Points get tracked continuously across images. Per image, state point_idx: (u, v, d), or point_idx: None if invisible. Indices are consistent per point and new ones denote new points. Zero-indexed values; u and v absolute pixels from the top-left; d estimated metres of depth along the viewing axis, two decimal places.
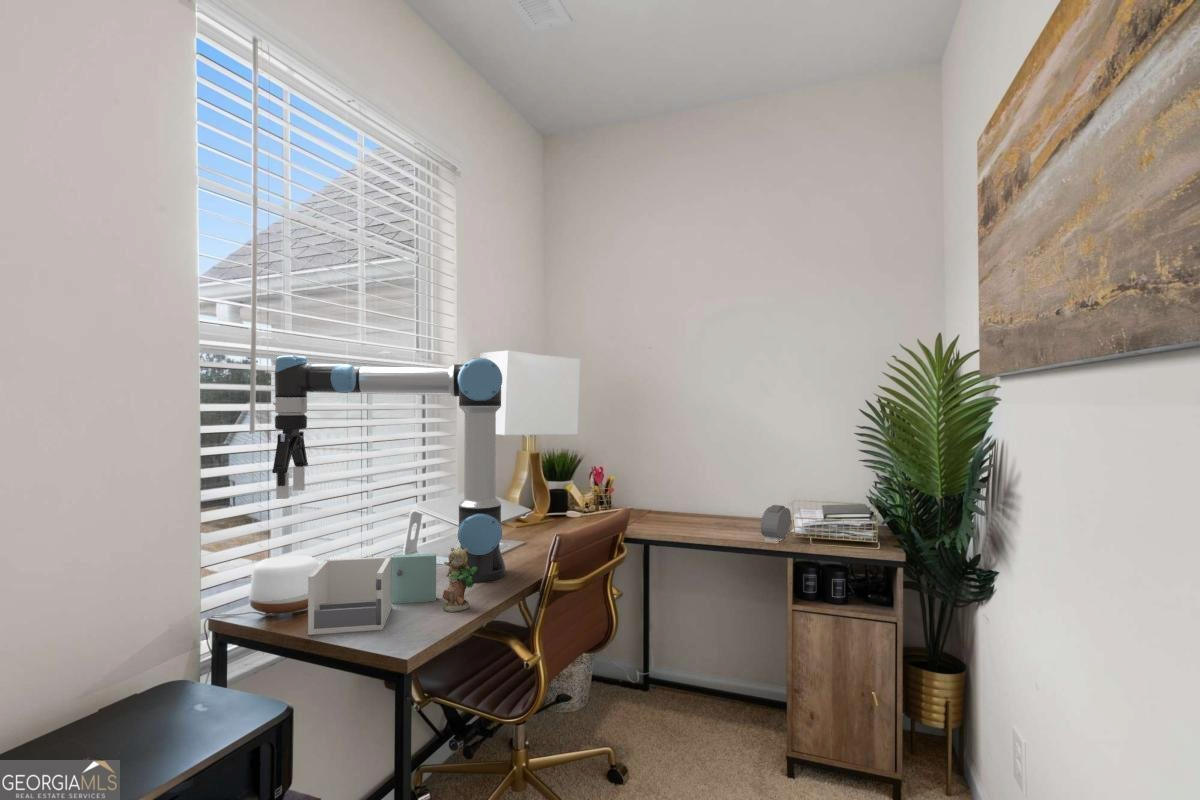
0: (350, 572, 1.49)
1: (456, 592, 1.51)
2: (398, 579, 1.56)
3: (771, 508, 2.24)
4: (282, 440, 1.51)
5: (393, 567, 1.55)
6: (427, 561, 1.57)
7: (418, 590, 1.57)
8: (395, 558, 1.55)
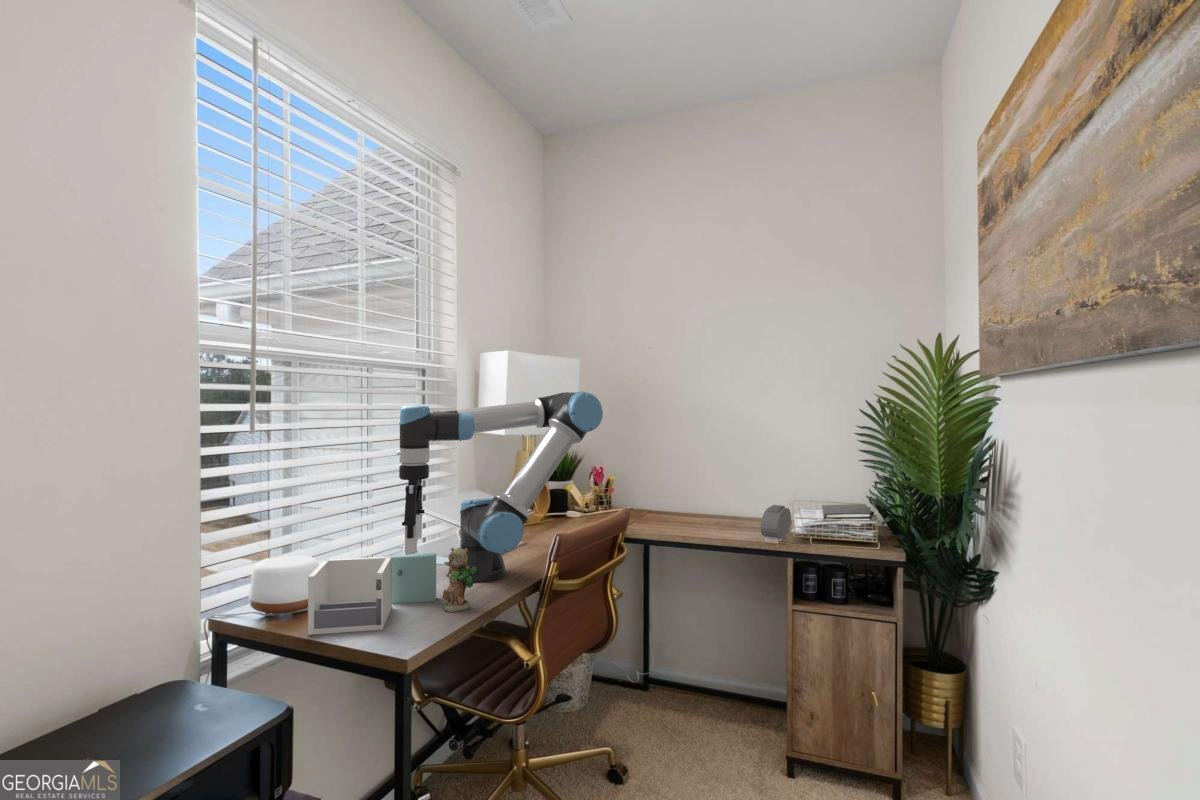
0: (350, 572, 1.49)
1: (456, 592, 1.51)
2: (398, 579, 1.56)
3: (771, 508, 2.24)
4: (410, 492, 1.51)
5: (393, 567, 1.55)
6: (427, 561, 1.57)
7: (418, 590, 1.57)
8: (395, 558, 1.55)
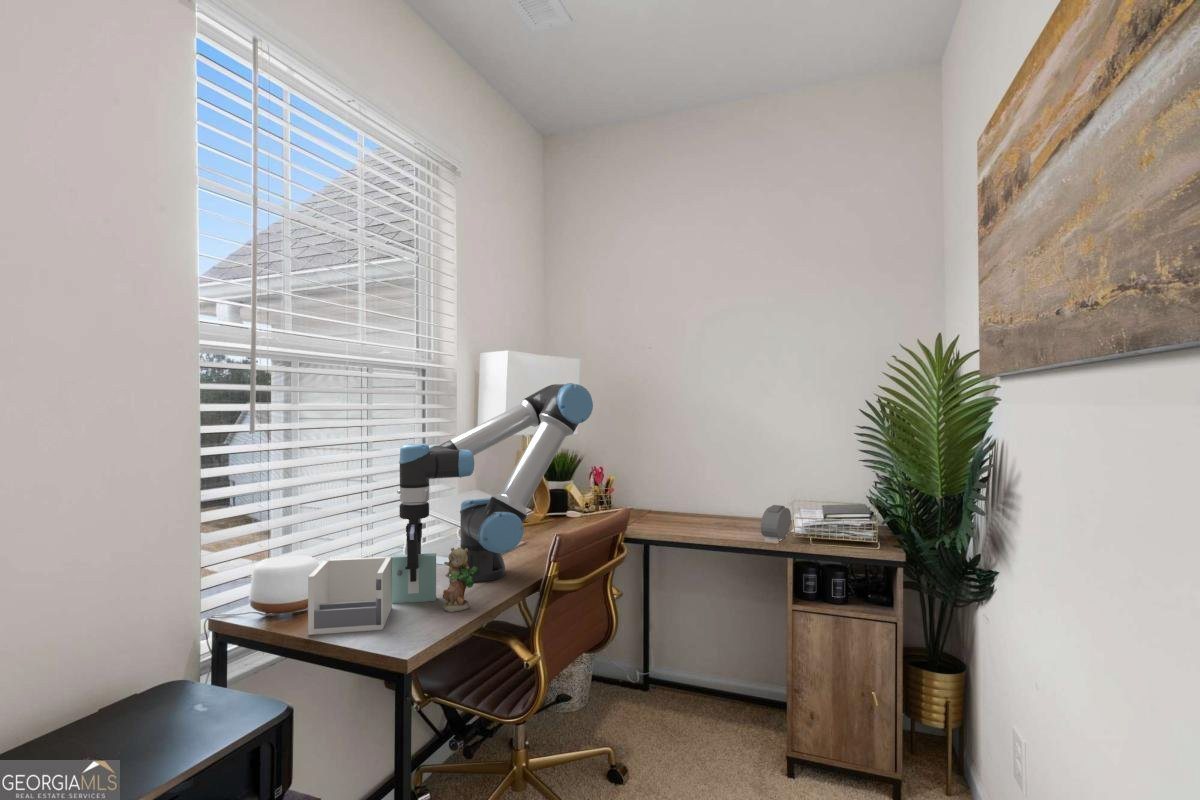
0: (350, 572, 1.49)
1: (456, 592, 1.51)
2: (398, 579, 1.56)
3: (771, 508, 2.24)
4: (411, 539, 1.52)
5: (393, 567, 1.55)
6: (427, 561, 1.57)
7: None
8: (395, 558, 1.55)
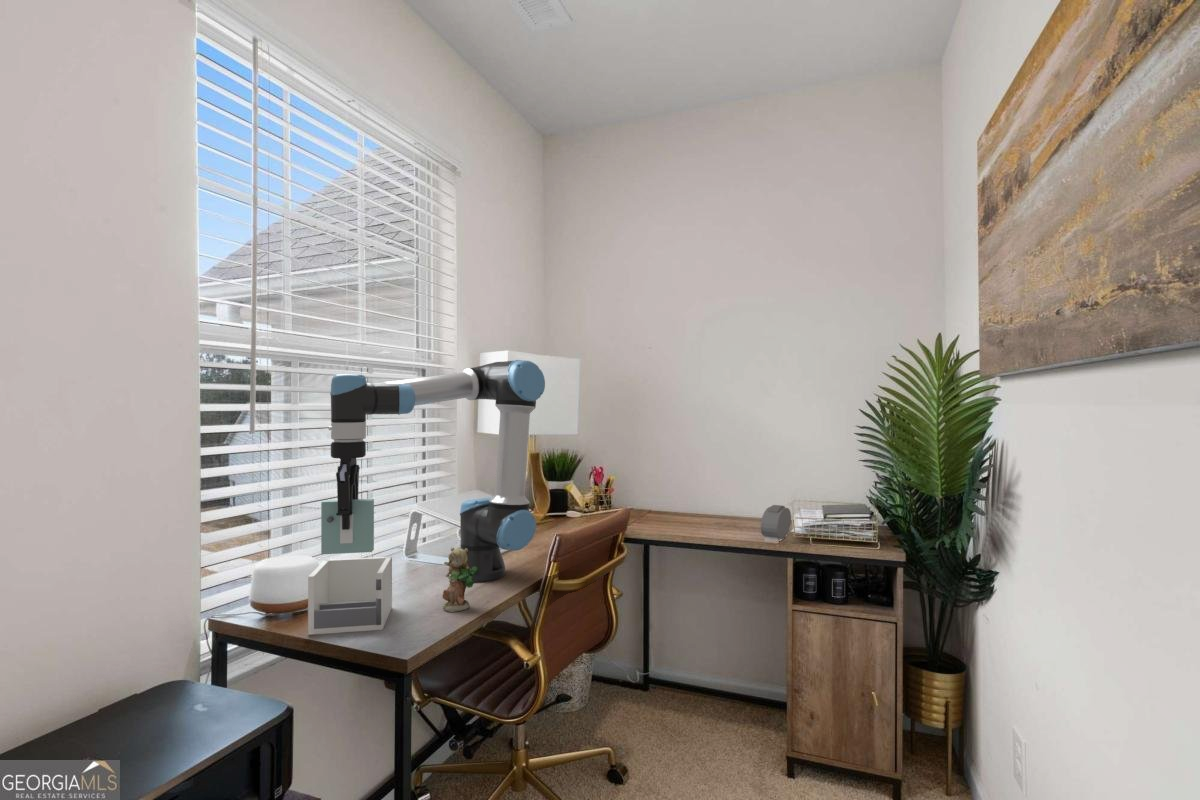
0: (350, 572, 1.49)
1: (456, 592, 1.51)
2: (328, 527, 1.37)
3: (771, 508, 2.24)
4: (342, 480, 1.33)
5: (323, 513, 1.36)
6: (362, 507, 1.38)
7: None
8: (325, 503, 1.36)
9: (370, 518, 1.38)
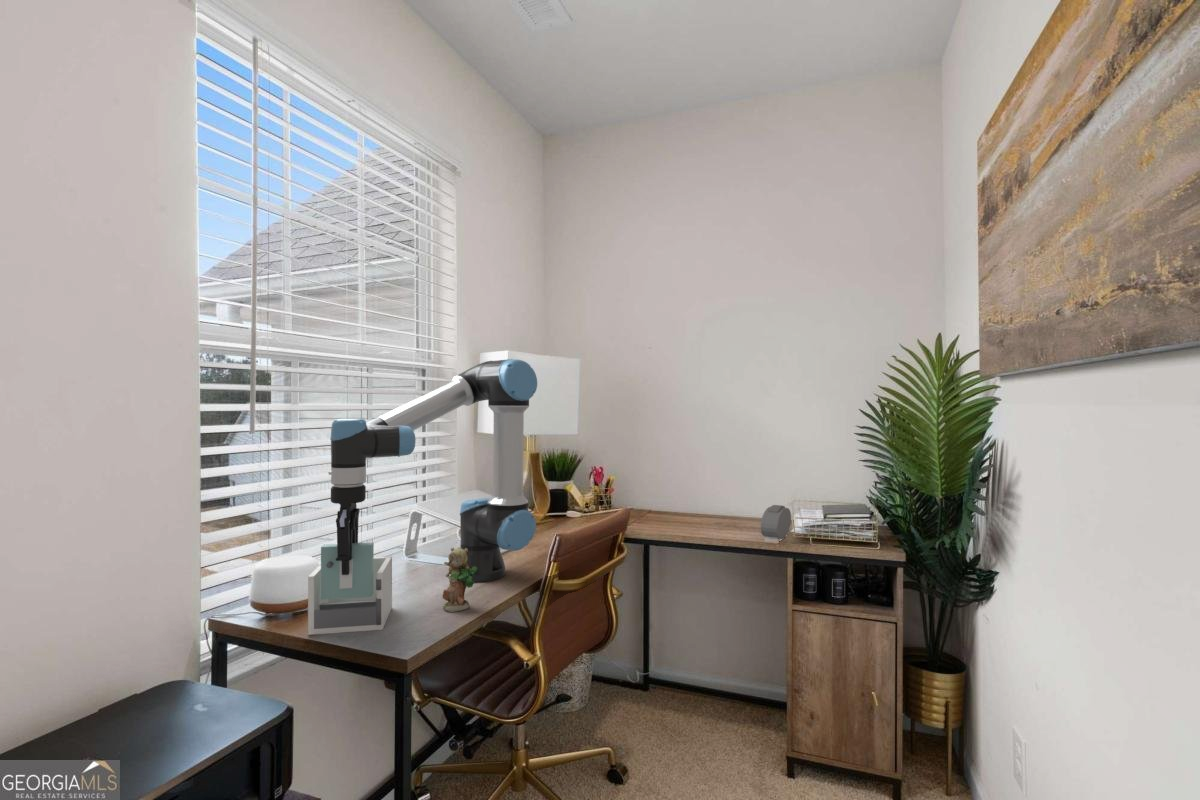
0: None
1: (456, 592, 1.51)
2: (328, 572, 1.37)
3: (771, 508, 2.24)
4: (342, 526, 1.33)
5: (322, 558, 1.36)
6: (362, 551, 1.38)
7: None
8: (325, 548, 1.36)
9: (370, 562, 1.38)
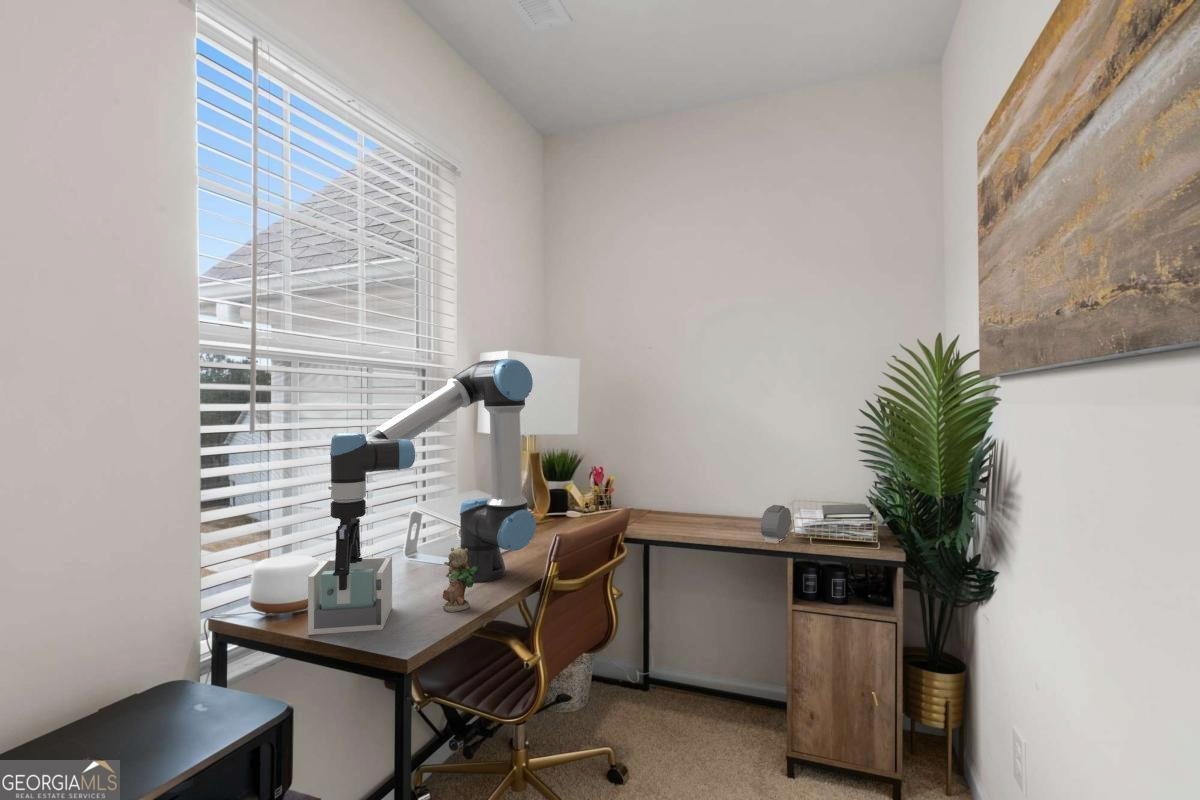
0: None
1: (456, 592, 1.51)
2: (328, 599, 1.37)
3: (771, 508, 2.24)
4: (341, 537, 1.32)
5: (323, 585, 1.36)
6: (362, 578, 1.38)
7: None
8: (325, 575, 1.36)
9: (370, 589, 1.38)
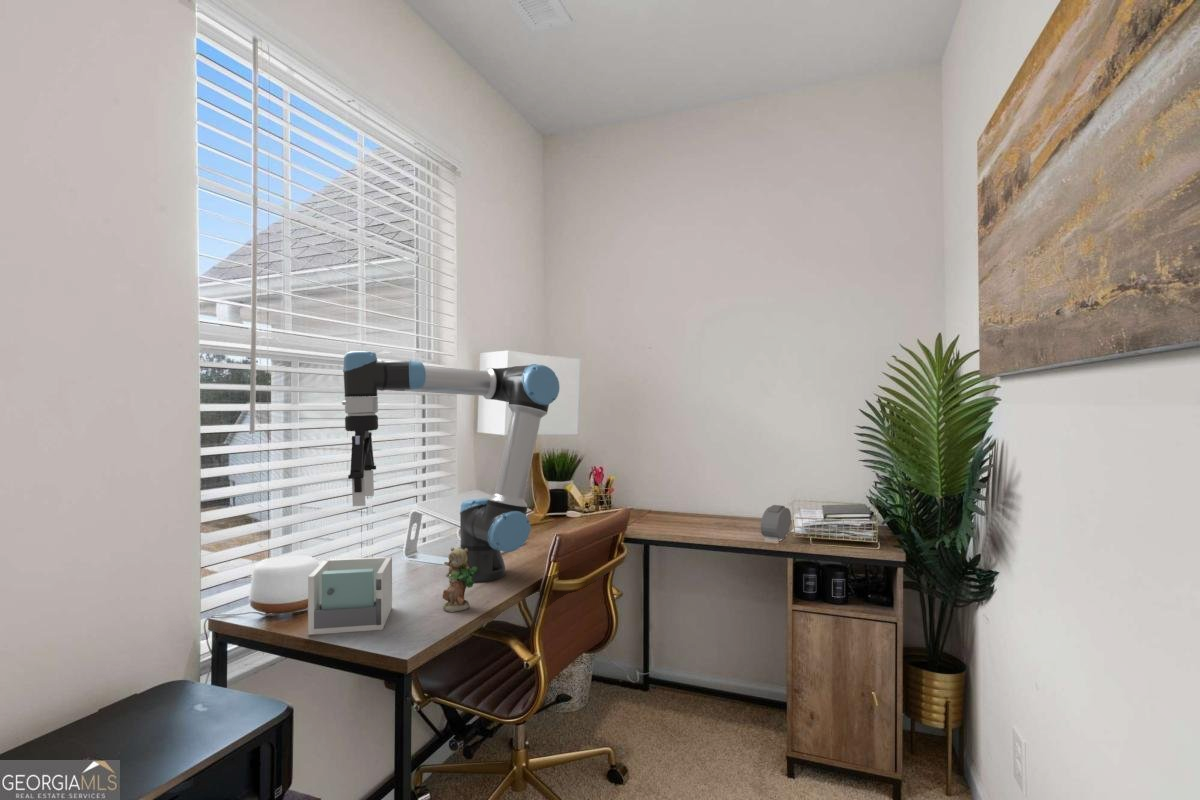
0: None
1: (456, 592, 1.51)
2: (328, 599, 1.37)
3: (771, 508, 2.24)
4: (357, 443, 1.39)
5: (323, 585, 1.36)
6: (363, 578, 1.38)
7: None
8: (325, 575, 1.37)
9: (370, 589, 1.39)
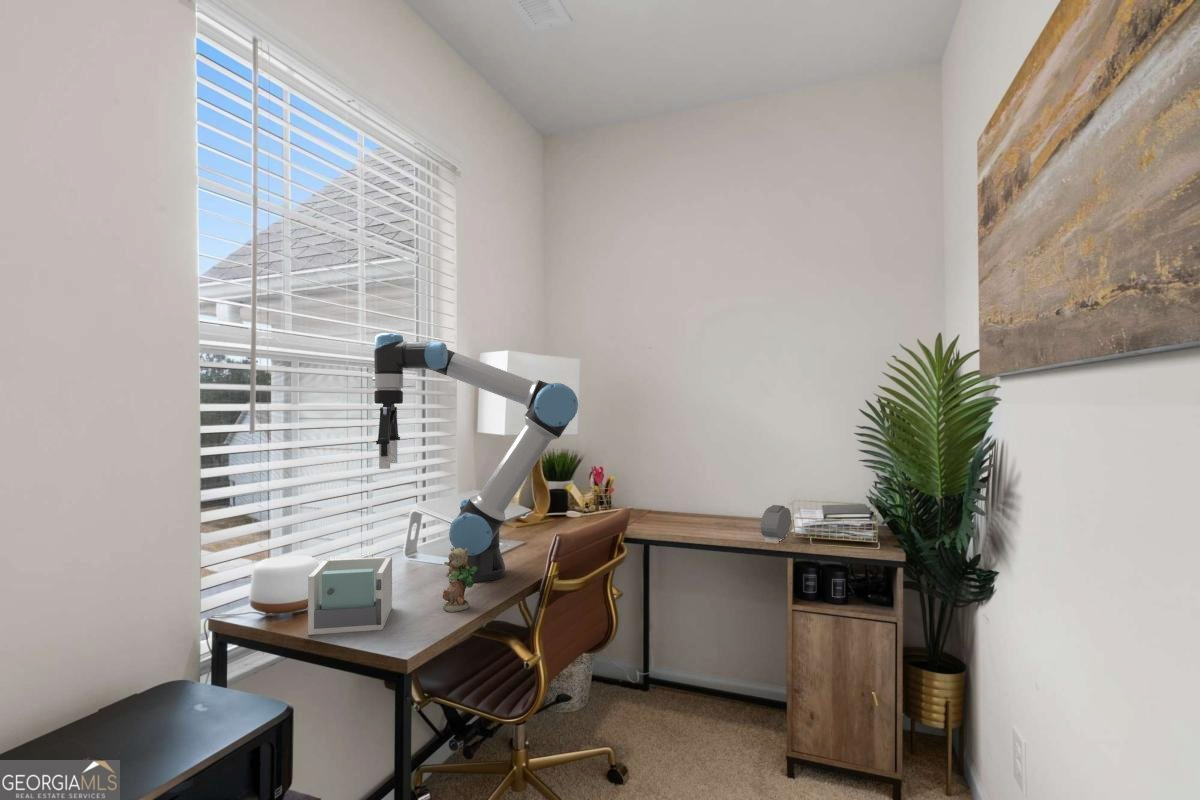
0: None
1: (456, 592, 1.51)
2: (328, 599, 1.37)
3: (771, 508, 2.24)
4: (384, 413, 1.59)
5: (323, 585, 1.36)
6: (363, 578, 1.38)
7: None
8: (325, 575, 1.37)
9: (370, 589, 1.39)
